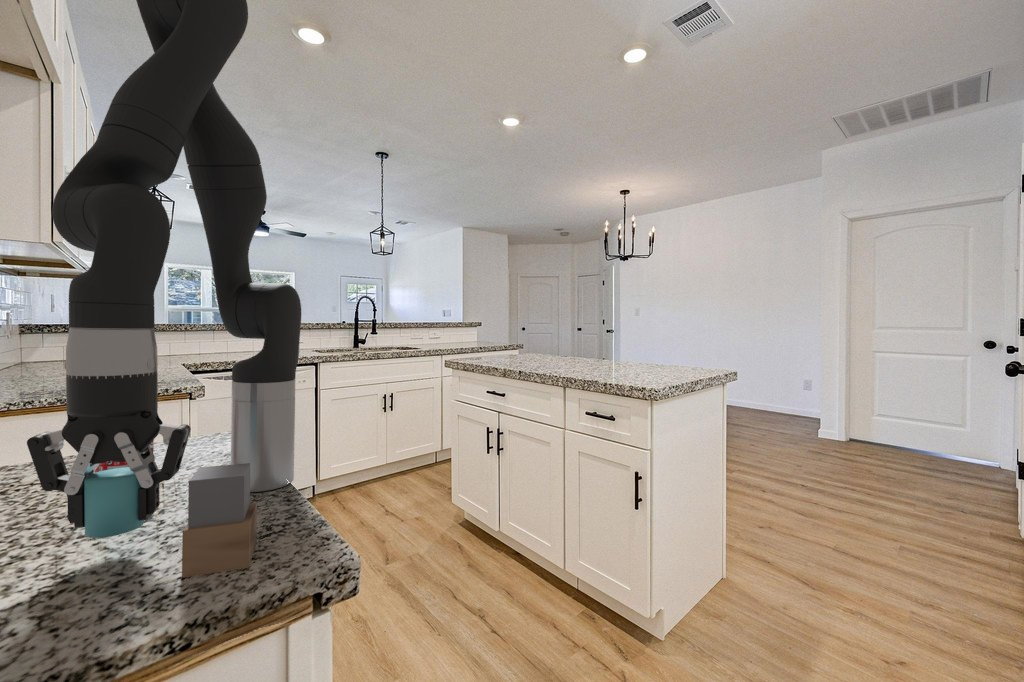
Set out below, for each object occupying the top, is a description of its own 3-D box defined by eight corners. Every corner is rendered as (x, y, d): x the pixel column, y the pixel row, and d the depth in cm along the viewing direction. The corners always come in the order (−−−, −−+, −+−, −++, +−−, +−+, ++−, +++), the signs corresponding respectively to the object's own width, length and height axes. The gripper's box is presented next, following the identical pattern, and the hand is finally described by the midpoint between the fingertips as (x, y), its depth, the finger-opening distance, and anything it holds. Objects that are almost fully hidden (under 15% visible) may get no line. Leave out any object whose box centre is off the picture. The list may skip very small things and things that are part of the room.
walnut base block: (197, 552, 52) (197, 509, 52) (256, 543, 54) (257, 502, 54) (181, 578, 46) (182, 530, 46) (248, 568, 48) (249, 522, 48)
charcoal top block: (199, 510, 51) (199, 467, 51) (249, 504, 53) (250, 463, 53) (188, 528, 46) (188, 480, 46) (243, 521, 49) (244, 475, 48)
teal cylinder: (97, 521, 51) (97, 469, 51) (151, 515, 53) (151, 465, 53) (74, 541, 47) (74, 484, 46) (134, 533, 49) (134, 479, 48)
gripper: (200, 365, 55) (200, 500, 56) (48, 366, 50) (50, 516, 51) (181, 372, 48) (182, 526, 49) (2, 374, 43) (5, 547, 44)
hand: (115, 520), depth 50 cm, fingers closed on teal cylinder, 5 cm apart
